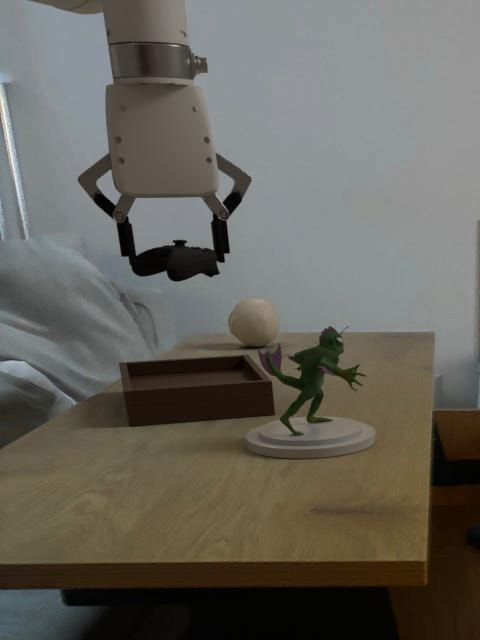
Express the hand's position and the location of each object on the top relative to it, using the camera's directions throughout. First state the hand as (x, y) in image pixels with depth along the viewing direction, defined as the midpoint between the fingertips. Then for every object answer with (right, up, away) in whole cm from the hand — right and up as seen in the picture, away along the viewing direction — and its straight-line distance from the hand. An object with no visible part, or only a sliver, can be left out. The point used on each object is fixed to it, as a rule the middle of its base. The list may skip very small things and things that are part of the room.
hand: (177, 262), depth 102 cm
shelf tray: (0, -13, +6) cm, 15 cm away
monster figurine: (+16, -21, -9) cm, 28 cm away
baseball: (-1, +3, +42) cm, 42 cm away
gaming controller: (0, -2, +1) cm, 2 cm away
